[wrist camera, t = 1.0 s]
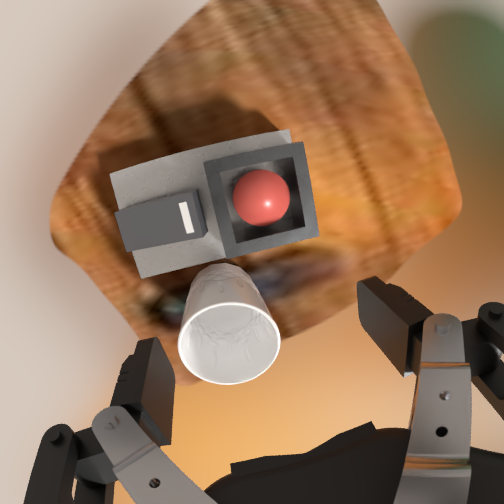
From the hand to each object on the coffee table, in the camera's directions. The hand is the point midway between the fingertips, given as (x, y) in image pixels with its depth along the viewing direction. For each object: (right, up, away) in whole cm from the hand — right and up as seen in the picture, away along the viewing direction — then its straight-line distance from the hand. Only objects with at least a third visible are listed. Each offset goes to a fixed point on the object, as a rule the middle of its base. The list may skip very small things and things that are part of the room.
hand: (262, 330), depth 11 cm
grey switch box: (-4, +8, +17) cm, 20 cm away
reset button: (0, +8, +13) cm, 15 cm away
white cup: (-4, -1, +21) cm, 21 cm away
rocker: (-8, +5, +12) cm, 16 cm away
